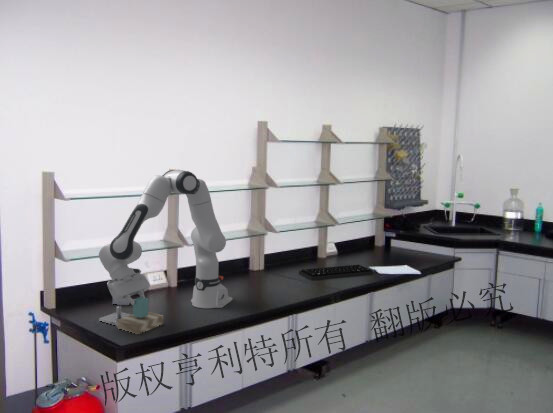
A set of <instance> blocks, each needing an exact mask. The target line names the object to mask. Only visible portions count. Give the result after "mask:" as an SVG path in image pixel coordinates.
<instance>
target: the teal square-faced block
mask: <svg viewBox="0 0 553 413" xmlns="http://www.w3.org/2000/svg"><path fill="white" fill-rule="evenodd" d="M134 299H135V301H136V304H134V305H132V314H133V316H135V317H139V318H142V317H145V316H147V315H148V312H149V298H146V297H145V298H143V297H141V296H139V297H136V298H134Z"/></svg>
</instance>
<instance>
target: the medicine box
mask: <svg viewBox="0 0 553 413" xmlns="http://www.w3.org/2000/svg"><path fill="white" fill-rule="evenodd" d="M113 304H117V305H116V306H129V305H130V304H131V303H130V302H129V301H127V300H126V299H125V298H123V299H120V300H117V301H116V300H114V299H113V298H112V305H113Z"/></svg>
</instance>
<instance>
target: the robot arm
mask: <svg viewBox="0 0 553 413" xmlns="http://www.w3.org/2000/svg"><path fill="white" fill-rule="evenodd" d="M172 193H174V194H179V195H180V194H182V195H185V196H186V198H187V203H188V207H189V212H190V216H191V220H192V222H193V223H194V225H195V227H194V228H193V229H192V230H191V233H190V238H191V241H192V244H193V250H194V256H195V277H194V284H195V285H194V286H193V291H192V298H191V299H190V302H191V304H192V306H193V307H195V308H199V309H222V308H224V307H225V306H226V305H227V304H230V303H231V302H232V301H233V297H231V296H229V291H228V288H227V287H226V286H224V285H223V284H222V283H221V281H223V280H224V276H223V275H219V259H218V256H217V253H220V252H222V251H223V250H224V249H225V248H226V245H227V239H226V237H225V235H224V234H223V232H222V230H221V228H220V225H219V222H218V220H217V217H216V215H215V211H214V207H213V202H212V199H211V198H212V197H211V194H210V190H209V188H208V185H207V184H206V182H205V180H203V179H201V178H197V176H196V175H195V174H194V173H193V172H191V171H189V170H184V169H182V170H181V169H171V170H168V171H166V172H165V173H163V174H162V175H160V174H157V175H154V176H153V177H151V178H150V180H149V181H148V183H147V185H146V186H145V188H144V190H143V191H142V194H141V196H140V198H139V200H138V202H137V204H136V205H135V207H134V209H133V210H132V211H131V213H130V215H129V217H128V218H127V220H126V222H125V224H124V225H123V226H122V229H121V231H120V232H119V233H118V234H117V236H115V237H114V238H113V239H112V240H111V242H110V243H107V244H105V245H104V246H103V247H102V248H101V249H100V250H99V251H98V258H99V261H100V263H101V264H102V266H103V267H104V270H106V272H108V273H109V277H110V279H111V280H108V281H107V283H106V285H107V288H108V290H109V291H108V292H109V293H110V295H111V297H112V300H113V299H114V300H116V301H117V300H120V299H123V298H125V299H126V300H127V301H129V302H130V304H131V306H133V305H134V304H136V301H135V299H136V298H132V296H134V295H139V297H143V298H146V297H145V292H146V291H147V290H149V289H150V287H151V284H150V282H149V281H148V279H147V278H146V276H145V275H144V274H143V273H142V270H141V269H140V268H132V267H129V265H130V264H133V263H134V262H135V261H137V260H139V259H140V258H141V256H142V254H143V253H142V252H143V250H142V246H141V244H140V243H138V242H136V241H135V238H136V236H137V234H138V232H139V230H140V229H141V226H143V224H144V222H146V221H147V220H149V219H152V218H153V219H154V218H155V217H156V218H157V216H158V215H159V214H160V213H161V212H162V210H163V209H164V206H165V205H166V203H167V200H168V198H169V196H170V195H171V194H172Z"/></svg>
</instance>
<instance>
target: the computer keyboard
mask: <svg viewBox="0 0 553 413" xmlns="http://www.w3.org/2000/svg"><path fill="white" fill-rule="evenodd" d="M298 275H301V277H304V278H306V279H307V280H308V281H309V280H310V281H321V280H333V279H342V278H343V279H344V278H351V277H353V278H354V277H364V276H374V271H373V270H372V269H370V268H368V267H365V266H363V265H360V264H351V265H349V264H347V265H341V266H340V265H336V266H328V267H325V266H324V267H314V268H306V269H304V268H302V269H301V270H298Z"/></svg>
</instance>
